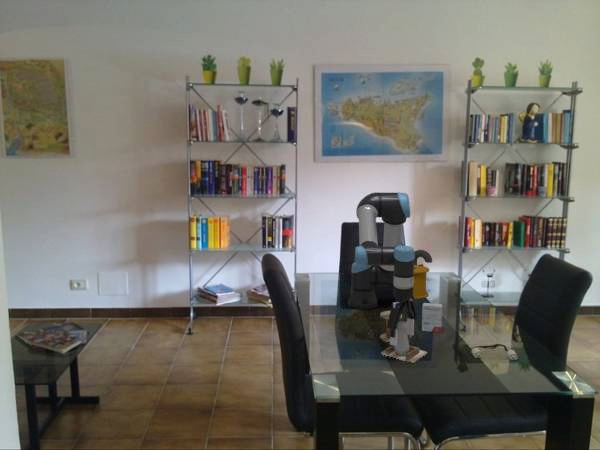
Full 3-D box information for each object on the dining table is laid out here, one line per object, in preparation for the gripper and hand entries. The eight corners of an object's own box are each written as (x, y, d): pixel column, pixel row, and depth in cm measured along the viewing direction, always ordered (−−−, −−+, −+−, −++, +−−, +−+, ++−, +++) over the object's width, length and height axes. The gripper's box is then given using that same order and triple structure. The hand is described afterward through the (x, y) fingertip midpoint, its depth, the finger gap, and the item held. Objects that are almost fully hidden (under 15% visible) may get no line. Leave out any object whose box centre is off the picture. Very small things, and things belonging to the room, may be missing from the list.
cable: (465, 344, 206) (466, 336, 205) (507, 346, 203) (507, 338, 203) (473, 360, 190) (473, 351, 190) (518, 362, 188) (518, 353, 188)
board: (380, 354, 195) (380, 347, 194) (395, 345, 204) (395, 338, 204) (413, 363, 186) (413, 356, 186) (427, 353, 195) (427, 347, 195)
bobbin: (376, 339, 210) (376, 314, 209) (386, 333, 217) (387, 309, 216) (395, 344, 205) (395, 319, 203) (405, 338, 212) (406, 313, 210)
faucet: (426, 286, 292) (427, 253, 289) (401, 283, 300) (401, 250, 297) (436, 280, 307) (437, 248, 304) (411, 276, 315) (412, 246, 312)
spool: (432, 292, 280) (433, 266, 278) (422, 300, 265) (423, 273, 263) (402, 288, 290) (403, 263, 287) (390, 295, 275) (391, 269, 272)
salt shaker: (392, 350, 196) (393, 319, 194) (406, 350, 196) (408, 319, 194) (396, 357, 190) (397, 324, 188) (411, 356, 191) (412, 324, 189)
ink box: (442, 329, 222) (443, 303, 221) (441, 332, 218) (442, 307, 216) (422, 327, 225) (423, 302, 223) (421, 330, 220) (422, 305, 219)
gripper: (396, 295, 178) (395, 352, 181) (426, 281, 197) (425, 332, 200) (378, 292, 182) (377, 347, 185) (409, 278, 201) (408, 328, 204)
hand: (402, 339), depth 193 cm, fingers open, 13 cm apart
